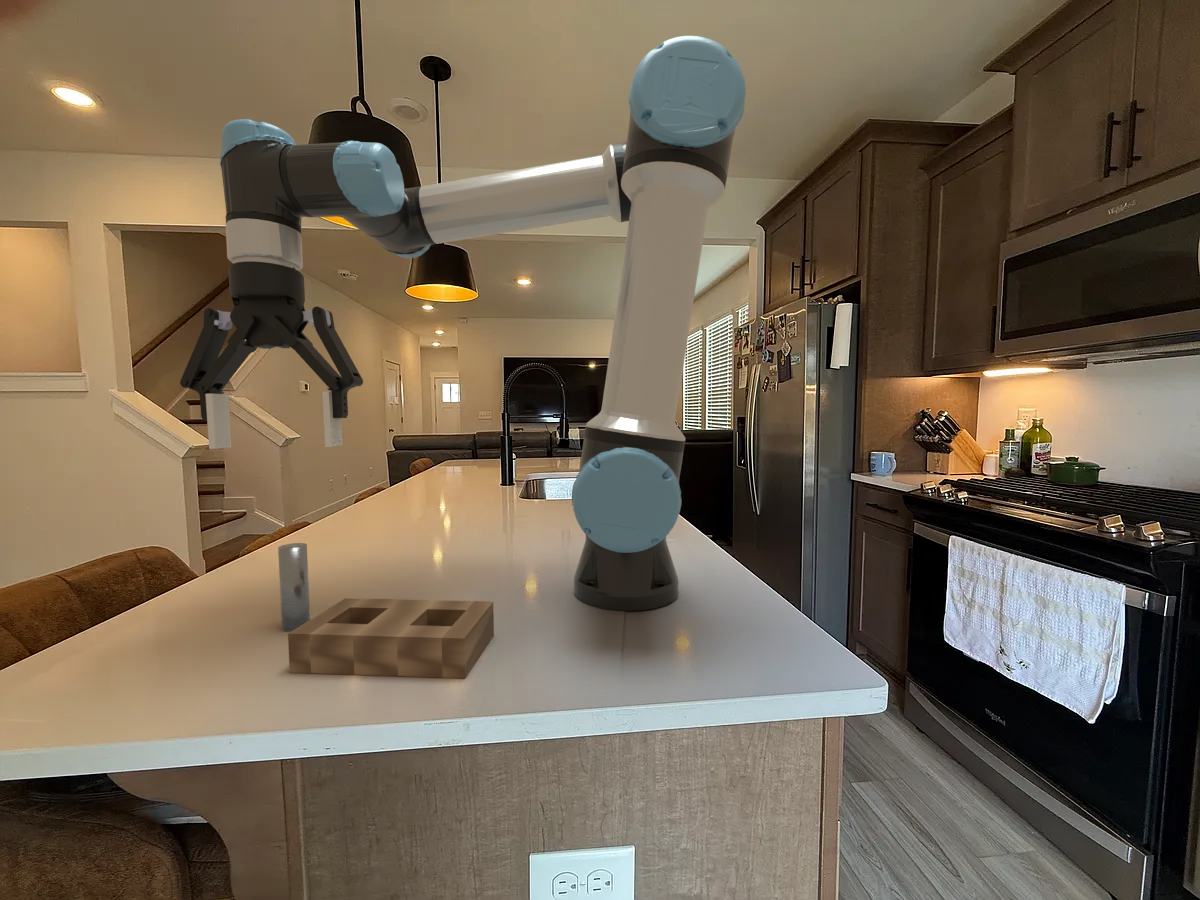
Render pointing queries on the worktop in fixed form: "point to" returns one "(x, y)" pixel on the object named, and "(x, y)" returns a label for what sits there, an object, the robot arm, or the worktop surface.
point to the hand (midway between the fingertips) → (277, 447)
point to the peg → (294, 585)
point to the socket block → (393, 638)
